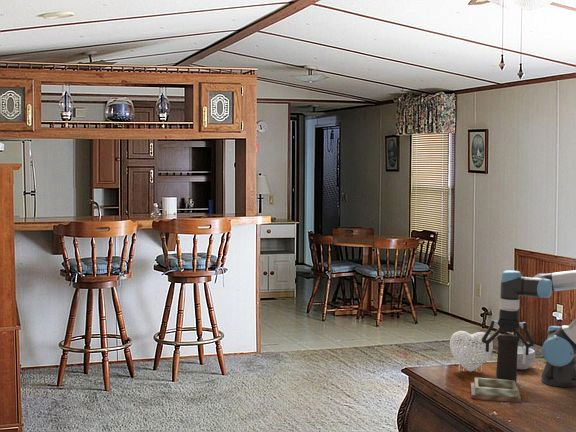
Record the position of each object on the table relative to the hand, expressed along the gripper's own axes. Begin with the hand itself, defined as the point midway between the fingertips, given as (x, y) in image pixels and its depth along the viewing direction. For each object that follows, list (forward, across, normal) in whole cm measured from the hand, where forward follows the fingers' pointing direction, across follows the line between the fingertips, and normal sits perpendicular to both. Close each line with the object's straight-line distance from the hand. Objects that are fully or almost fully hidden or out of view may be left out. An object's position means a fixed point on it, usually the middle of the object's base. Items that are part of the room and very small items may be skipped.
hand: (506, 361), depth 344 cm
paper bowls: (+9, -6, -31) cm, 33 cm away
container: (+9, 0, 0) cm, 9 cm away
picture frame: (+9, +5, +17) cm, 20 cm away
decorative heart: (+10, +14, -17) cm, 24 cm away
